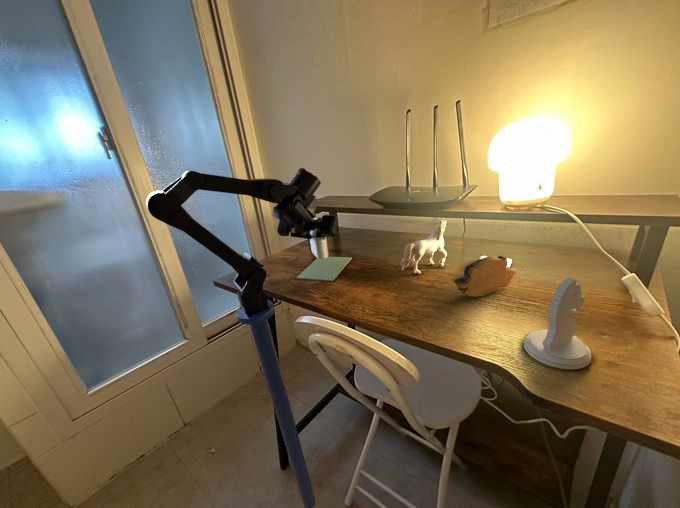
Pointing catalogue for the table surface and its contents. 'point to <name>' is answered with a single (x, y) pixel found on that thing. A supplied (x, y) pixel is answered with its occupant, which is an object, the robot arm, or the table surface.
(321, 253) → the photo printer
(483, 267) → the wooden carving
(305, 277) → the felt mat
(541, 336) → the chess piece
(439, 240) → the unicorn figurine
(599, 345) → the table surface
